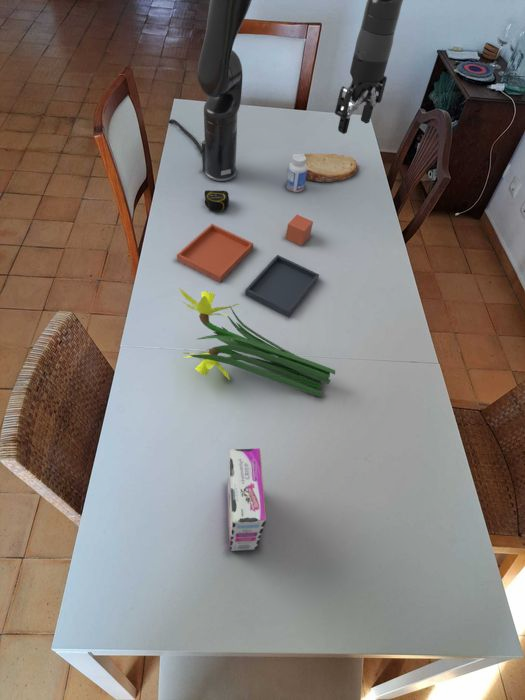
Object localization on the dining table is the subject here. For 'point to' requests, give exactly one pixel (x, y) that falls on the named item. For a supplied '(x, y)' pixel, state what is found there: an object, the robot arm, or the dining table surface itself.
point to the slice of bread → (329, 167)
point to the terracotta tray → (215, 252)
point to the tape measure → (216, 200)
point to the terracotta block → (299, 230)
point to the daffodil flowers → (255, 353)
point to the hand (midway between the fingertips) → (353, 127)
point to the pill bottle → (297, 173)
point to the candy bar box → (245, 499)
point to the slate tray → (282, 285)
